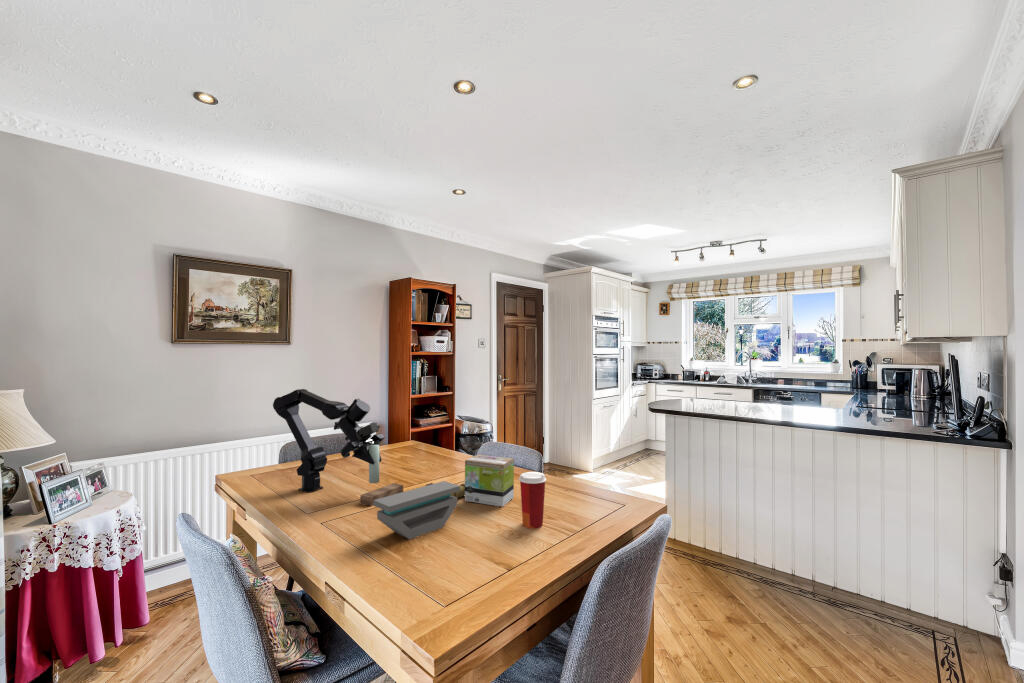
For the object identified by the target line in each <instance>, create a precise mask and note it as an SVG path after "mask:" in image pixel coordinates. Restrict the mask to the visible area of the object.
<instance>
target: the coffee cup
mask: <svg viewBox="0 0 1024 683" xmlns="http://www.w3.org/2000/svg"><path fill="white" fill-rule="evenodd" d="M518 481H519V483H520V498H521V499H520V502H521V516H522V526H523V527H524V528H527V529H531V530H533V529H540V528H542V527H543V522H544V511H545V510H544V509H545V508H544V507H545V495H546V493H545V492H546V481H547V478H546V476H545V474H544V473H542V472H539V471H527V472H523V473H521V474H520V475H519V478H518Z"/></svg>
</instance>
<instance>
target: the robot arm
mask: <svg viewBox="0 0 1024 683" xmlns="http://www.w3.org/2000/svg"><path fill="white" fill-rule="evenodd" d="M302 403H304V404H305V405H308V406H310V407H311V408H312V407H313V409H317V410H318V411H320V412H321V413H322V415H323V416H324V417H326V418H327V419H328V420H332V421H333V420H338V419H339V420H338V421H334V425H333V430H335V431H336V430H340V431H341V432H342V433H343V435H345V438H344V440H345V441H346V442H347V443H346V444H345V445H344V446H343V448H341V450H340V456H342V458H343V459H345V458H348V457H350V456H351V457H352V458H356V459H358V460H361V461H363V462H366V463H367V464H369V463H370V464H372V465H374V463H375V462H374V460H373V458H372V457H371V455H370V454H369V446H370V445H379V446H380V444H381V443H382V441H384V439H385V438H386V437H385V435H384V434H383V433H378V432H379V431H380V430H379V429H380V424H379V423H378V422H377V421H372V422H370V423H369V424H367V425H365V426H360V425H359V424H358V423H360V422H362V420H363V419H364V418H365V417H366V416H367V415H368V413H370V411H371V407H370V405H369V404H368V403H367V402H366V401H363V400H361V399H360V398H355V399H354V400H353V401H352V403H351V405H347V404H346V402H342V401H335V400H329V399H327V398H325V397H322V396H320V395H317V394H316V393H313V392H310V391H309V390H308V389H305V388H300V389H299V388H298V389H295V390H293V391H291V392H289V393H287V394H284V395H281V396H277V397H276V398H275V399H274V401H273V403H272V407H273V409H274V411H275V412H276V414H277V415H278V416H279V417H281V418H282V419H284V420H285V421H286V422H285V423H286V424H287V425H288V427H289V430H290V431H291V434H292V436H293V437H294V440H295V442H296V444H297V445H298V447H299V449H300V451H301V454H300V461H301V462H300V463H301V464H300V466H299V467H297V468H296V474H297V476H300V477H301V487H300V488H298V489H297V490H298V491H300V492H304V491H305V492H304V493H311V492H315V491H319V490H322V489H324V486H323V485H321V472H323V471H325V468H326V465H327V462H328V457H327V456H328V454H327V453H326V452H325V450H324V447H323V446H322V445H321V446H317V445H315V443H314V441H313V439H312V437H311V436H310V433H309V431H308V430H307V428H306V426H305V424H304V422H303V419H302V418H301V416H300V415H299V411H300V404H302ZM374 433H376V434H374ZM350 452H353V454H352V455H351V453H350ZM382 461H383V460H382V457H381V453H380V452H379V463H381V462H382ZM318 489H319V490H318Z"/></svg>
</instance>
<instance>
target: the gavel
mask: <svg viewBox="0 0 1024 683" xmlns="http://www.w3.org/2000/svg"><path fill="white" fill-rule="evenodd" d="M431 484H434V483H433V482H430V483H426V484H425V486H427V485H431ZM459 486H460V491H458V492H455V493H451V494H450V495H451V496H454V497H457V499H459V497H460V498H462V496H463V497H465V496H464V495H465V482H463V483H461V484H460V485H459Z"/></svg>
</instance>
